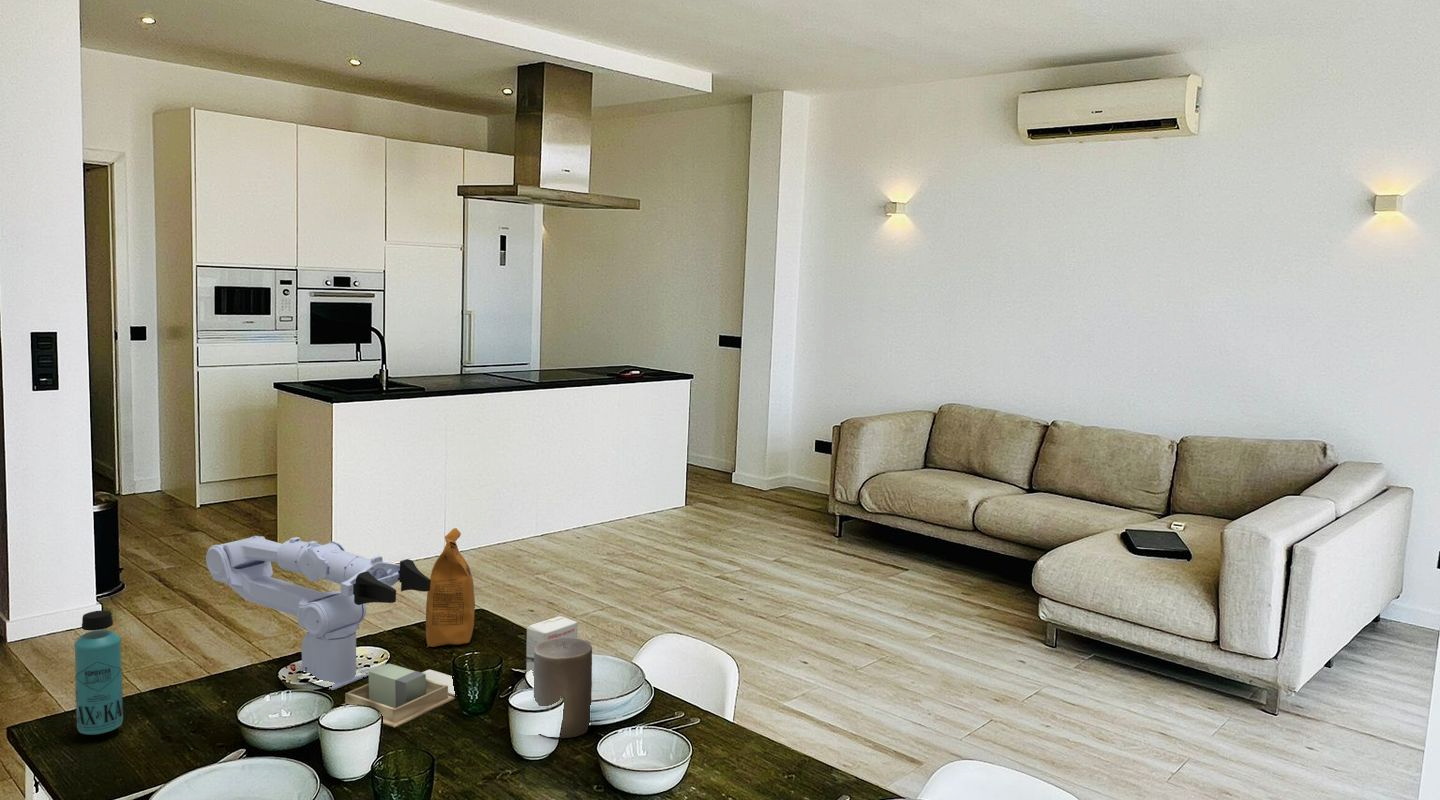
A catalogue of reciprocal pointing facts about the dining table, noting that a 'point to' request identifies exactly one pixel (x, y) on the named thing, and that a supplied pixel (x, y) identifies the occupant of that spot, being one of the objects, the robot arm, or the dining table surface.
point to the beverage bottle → (98, 676)
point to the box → (395, 685)
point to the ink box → (548, 635)
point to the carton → (408, 711)
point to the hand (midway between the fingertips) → (412, 590)
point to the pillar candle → (565, 680)
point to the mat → (441, 679)
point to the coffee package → (450, 597)
